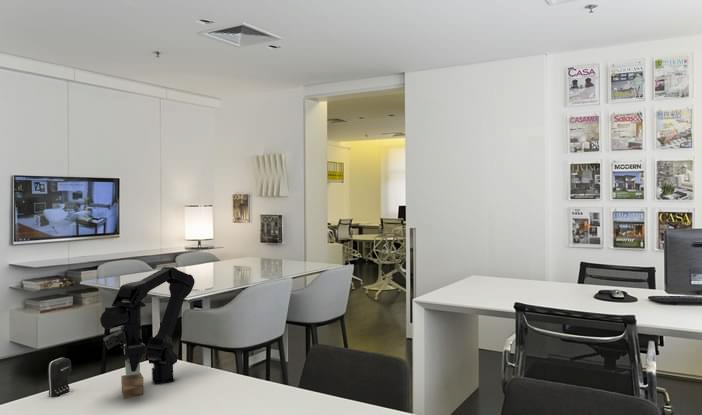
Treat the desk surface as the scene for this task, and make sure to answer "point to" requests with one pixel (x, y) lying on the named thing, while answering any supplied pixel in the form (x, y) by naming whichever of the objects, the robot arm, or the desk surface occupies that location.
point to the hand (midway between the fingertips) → (132, 369)
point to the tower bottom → (132, 392)
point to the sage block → (128, 368)
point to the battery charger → (58, 376)
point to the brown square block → (132, 381)
